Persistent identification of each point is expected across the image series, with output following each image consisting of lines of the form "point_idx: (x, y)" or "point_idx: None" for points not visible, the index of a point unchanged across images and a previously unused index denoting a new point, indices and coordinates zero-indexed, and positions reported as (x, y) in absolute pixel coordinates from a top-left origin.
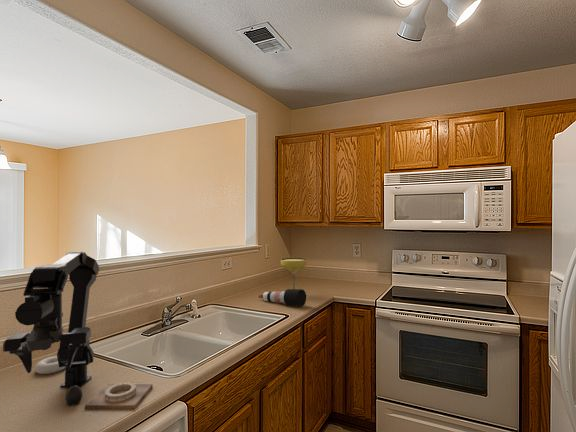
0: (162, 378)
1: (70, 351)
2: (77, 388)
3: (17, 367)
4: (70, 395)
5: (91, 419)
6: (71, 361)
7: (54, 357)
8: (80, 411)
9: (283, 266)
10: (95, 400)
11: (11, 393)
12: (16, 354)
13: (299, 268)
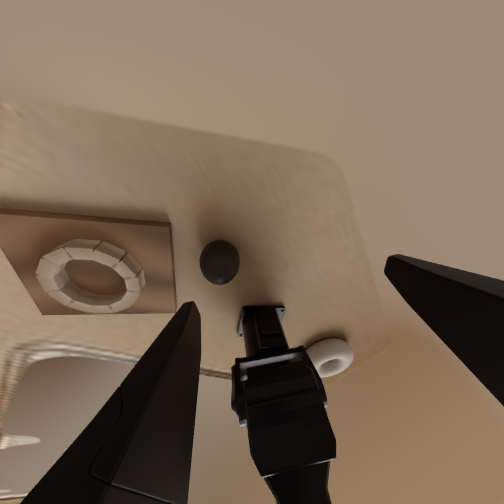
0: (59, 338)
1: (85, 484)
2: (207, 273)
3: (376, 350)
4: (219, 252)
5: (104, 162)
6: (157, 342)
7: (331, 372)
8: (175, 212)
9: None
10: (153, 248)
11: (365, 288)
12: None
13: None
